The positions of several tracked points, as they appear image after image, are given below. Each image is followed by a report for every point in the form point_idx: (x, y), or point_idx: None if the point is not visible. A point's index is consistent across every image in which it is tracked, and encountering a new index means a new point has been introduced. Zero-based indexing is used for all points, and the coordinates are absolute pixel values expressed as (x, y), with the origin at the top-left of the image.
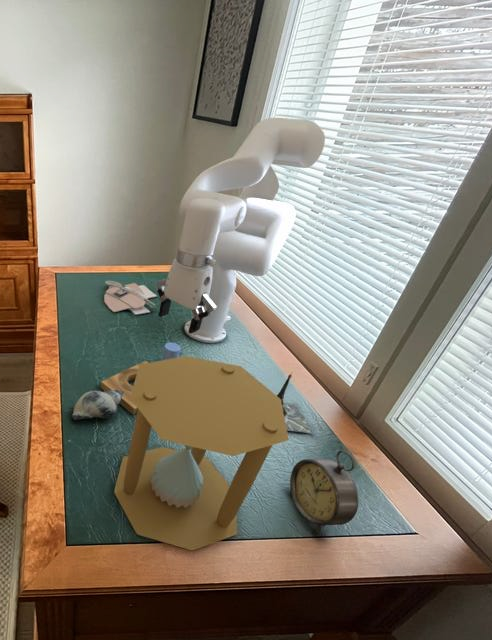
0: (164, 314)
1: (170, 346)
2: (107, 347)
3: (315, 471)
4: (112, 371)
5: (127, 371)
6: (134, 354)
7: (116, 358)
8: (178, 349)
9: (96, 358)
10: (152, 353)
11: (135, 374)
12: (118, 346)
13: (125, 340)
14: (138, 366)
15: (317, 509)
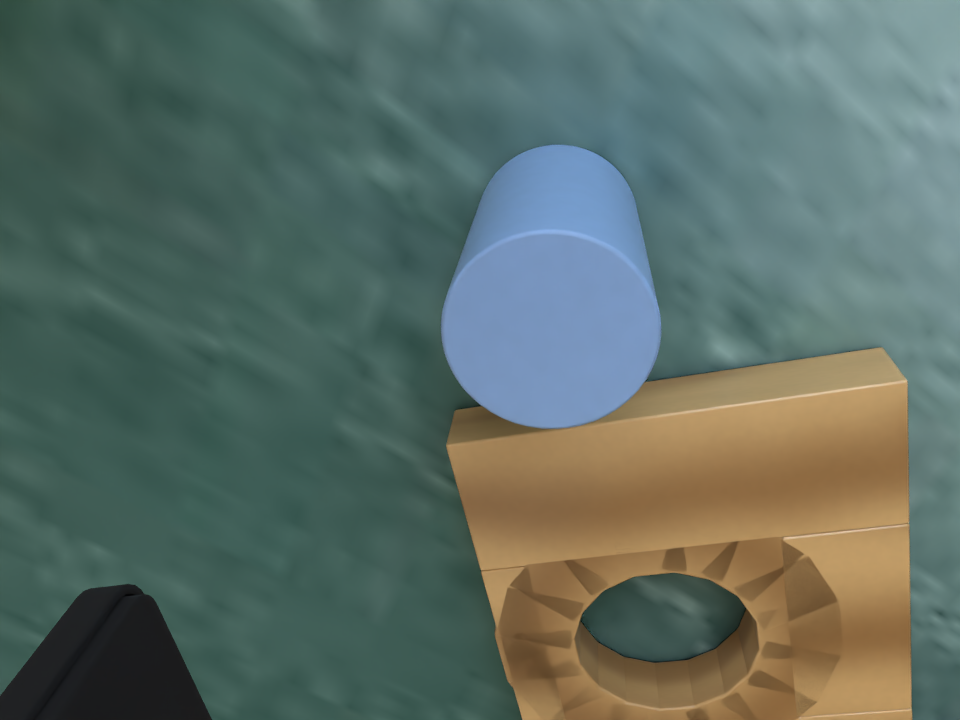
0: (184, 710)
1: (532, 360)
2: (103, 523)
3: None
4: (421, 642)
5: (524, 646)
6: (256, 384)
7: (272, 540)
8: (637, 308)
9: (233, 655)
10: (285, 218)
11: (582, 611)
12: (104, 440)
13: (14, 333)
14: (500, 544)
15: None
